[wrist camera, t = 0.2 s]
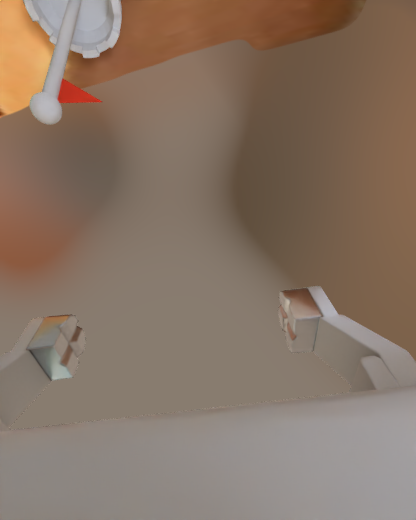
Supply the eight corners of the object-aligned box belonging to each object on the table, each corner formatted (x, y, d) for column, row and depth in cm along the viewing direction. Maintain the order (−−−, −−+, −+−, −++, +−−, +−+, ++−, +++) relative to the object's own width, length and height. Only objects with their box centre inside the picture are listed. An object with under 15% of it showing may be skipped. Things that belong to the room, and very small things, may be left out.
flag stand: (34, 24, 45) (-16, 153, 31) (18, -98, 34) (-69, 16, 20) (118, 52, 50) (107, 176, 36) (127, -47, 39) (117, 74, 25)
